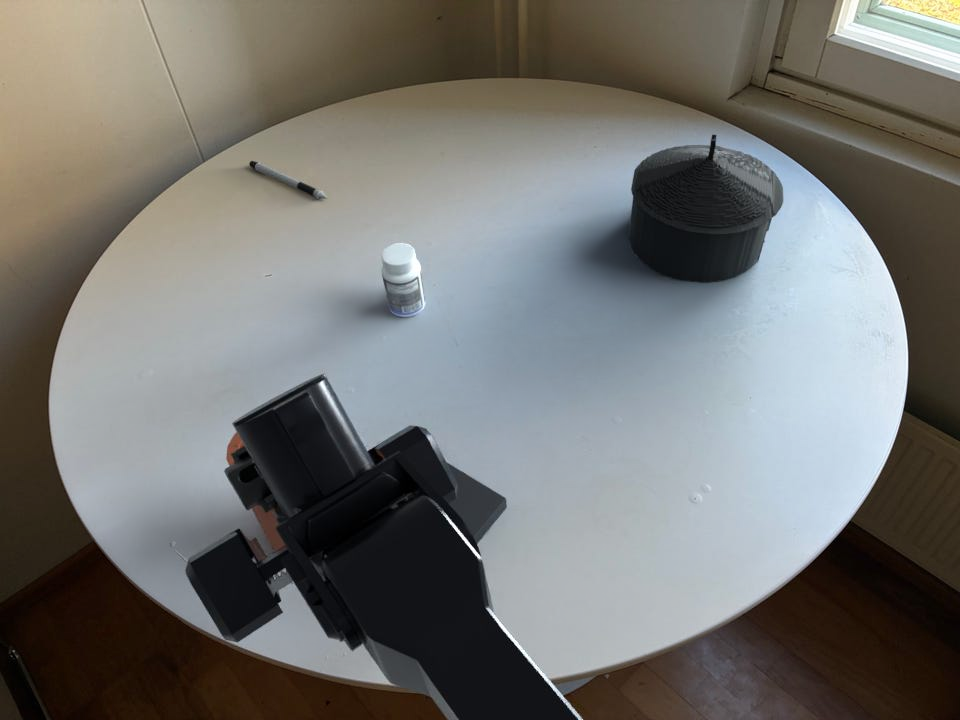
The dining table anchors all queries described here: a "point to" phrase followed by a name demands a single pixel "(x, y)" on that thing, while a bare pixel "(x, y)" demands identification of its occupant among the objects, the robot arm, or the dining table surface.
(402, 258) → the pill bottle
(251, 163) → the pen
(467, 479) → the scale
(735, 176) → the hut
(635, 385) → the dining table surface
